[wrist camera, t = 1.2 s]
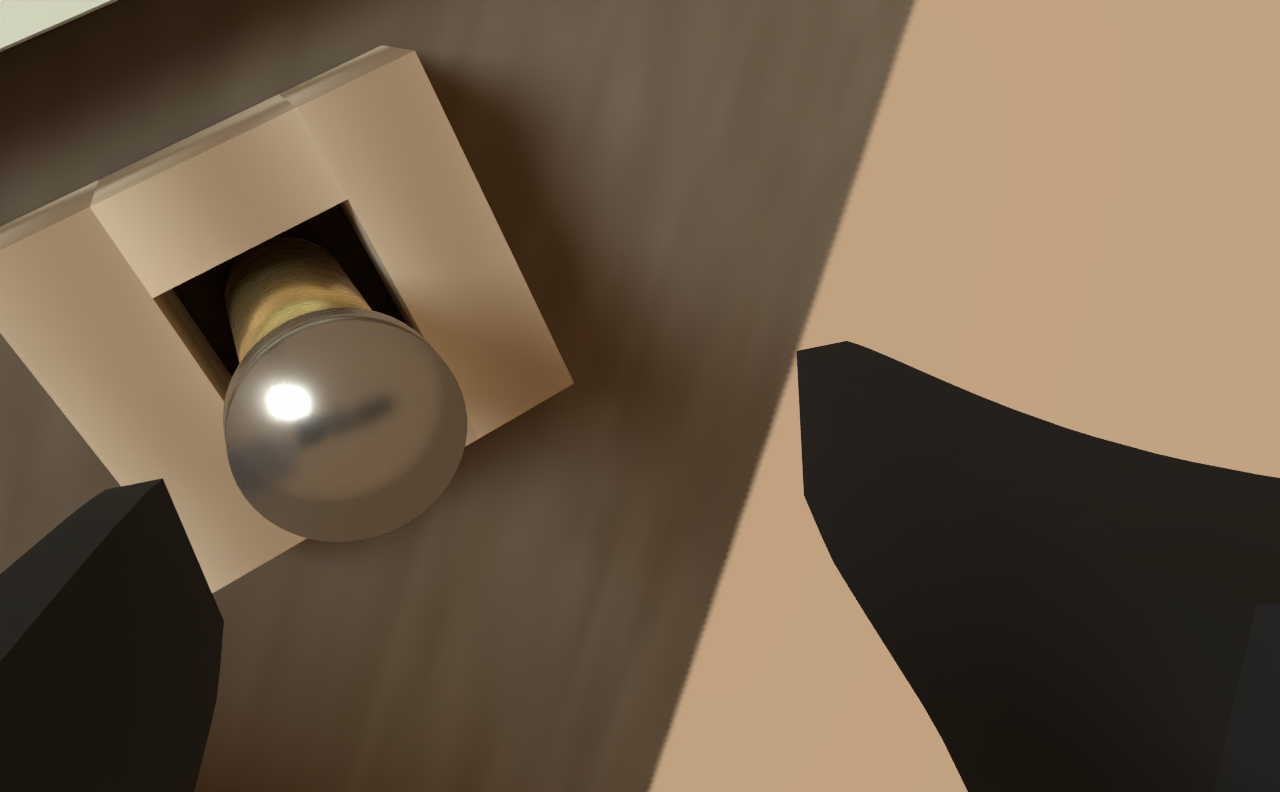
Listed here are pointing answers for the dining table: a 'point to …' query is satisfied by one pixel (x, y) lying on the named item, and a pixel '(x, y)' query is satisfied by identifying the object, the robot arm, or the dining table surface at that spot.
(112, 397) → the lock block
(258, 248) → the pin
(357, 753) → the dining table surface
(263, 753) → the dining table surface
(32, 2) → the tray
